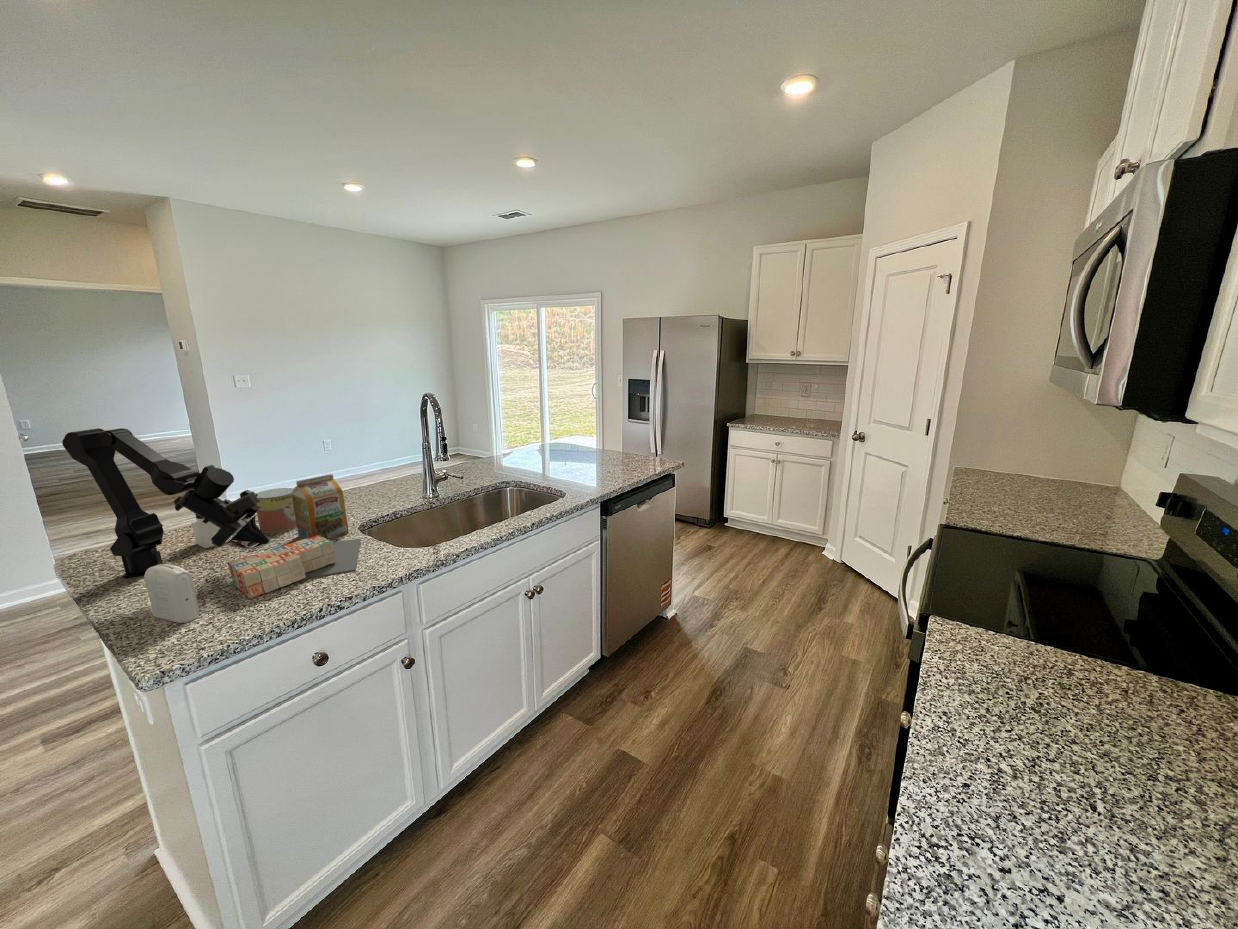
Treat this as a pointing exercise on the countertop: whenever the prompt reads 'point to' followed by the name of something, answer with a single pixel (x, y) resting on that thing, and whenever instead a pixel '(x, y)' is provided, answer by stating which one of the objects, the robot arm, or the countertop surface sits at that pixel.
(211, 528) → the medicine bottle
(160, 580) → the photo printer
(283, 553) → the stack of blocks
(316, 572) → the mat
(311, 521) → the milk carton
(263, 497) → the canned food
